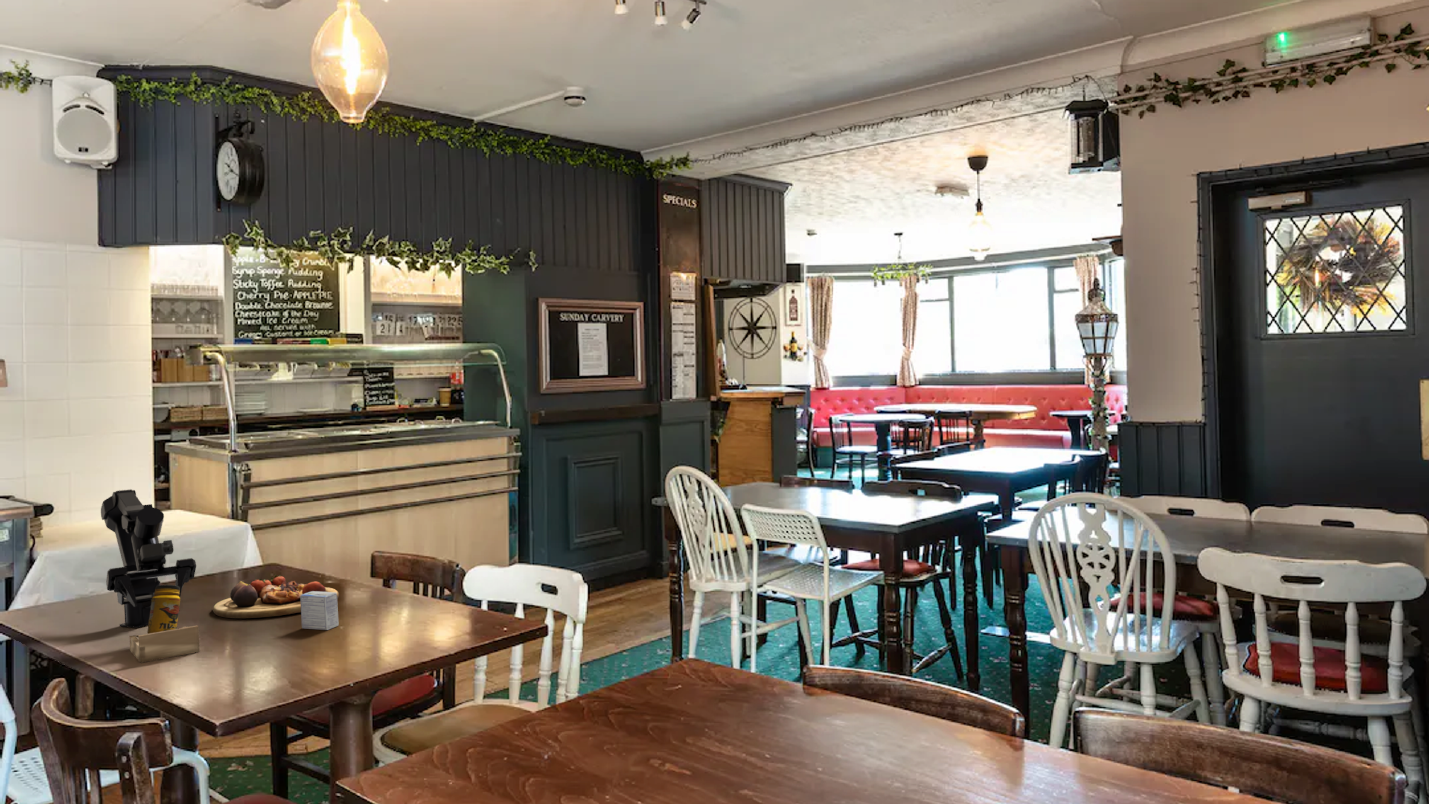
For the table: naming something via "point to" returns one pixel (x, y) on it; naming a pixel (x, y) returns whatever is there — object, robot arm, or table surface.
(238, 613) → the wooden plate with food
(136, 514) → the robot arm
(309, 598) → the medicine box
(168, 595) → the condiment
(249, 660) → the table surface
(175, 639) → the drawer
